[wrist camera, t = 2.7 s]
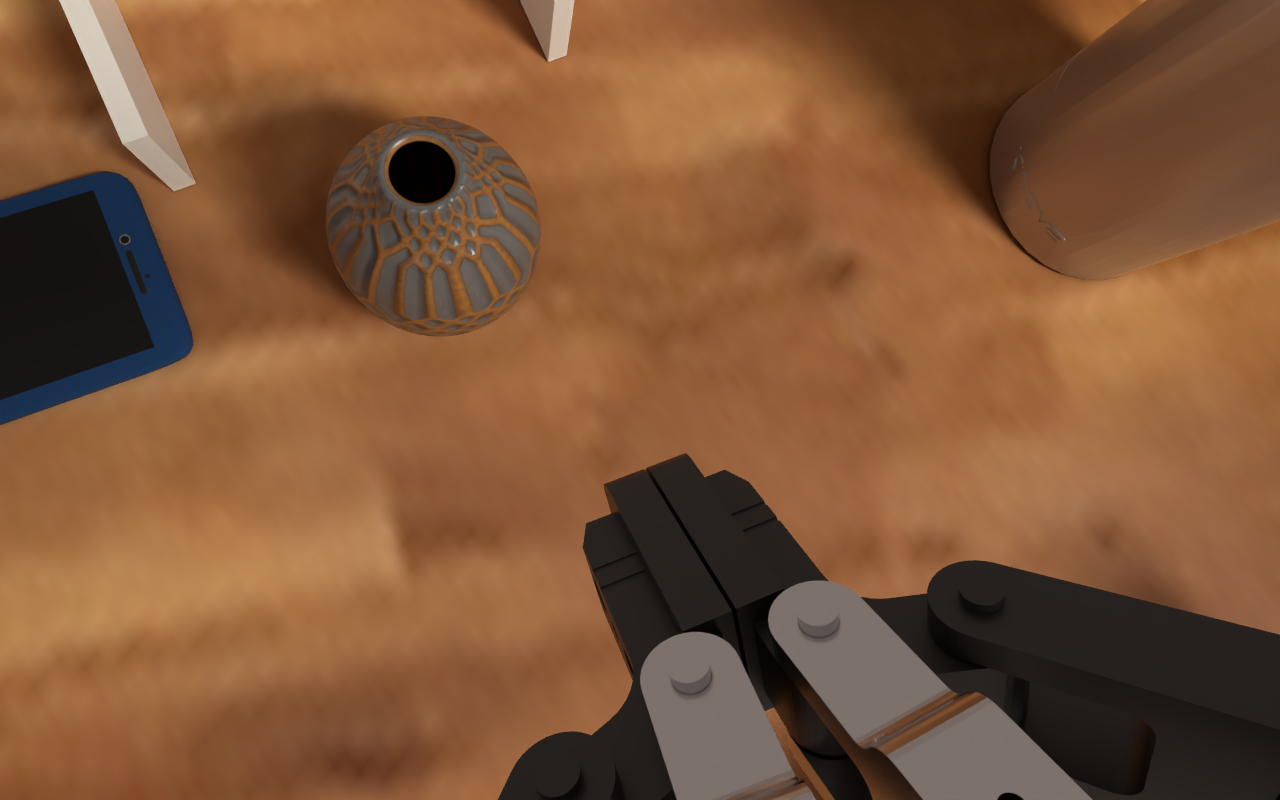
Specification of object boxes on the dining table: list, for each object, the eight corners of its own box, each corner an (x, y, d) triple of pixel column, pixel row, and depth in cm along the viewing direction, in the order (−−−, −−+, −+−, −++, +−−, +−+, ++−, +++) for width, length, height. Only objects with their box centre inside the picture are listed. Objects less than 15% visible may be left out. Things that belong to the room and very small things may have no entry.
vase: (498, 152, 31) (496, 22, 23) (562, 315, 31) (585, 246, 22) (322, 206, 30) (249, 89, 21) (387, 377, 29) (340, 329, 21)
